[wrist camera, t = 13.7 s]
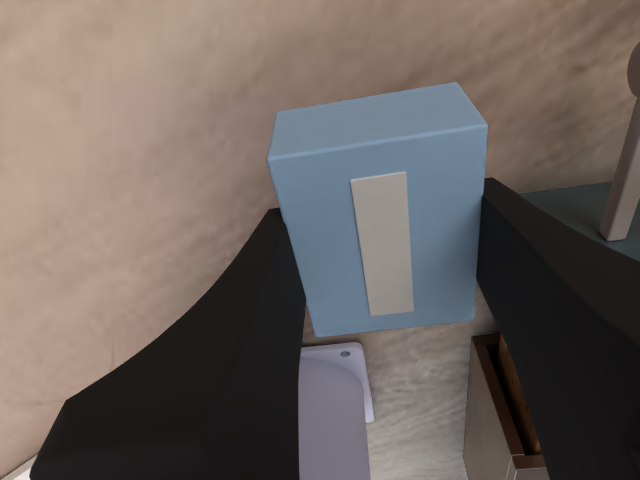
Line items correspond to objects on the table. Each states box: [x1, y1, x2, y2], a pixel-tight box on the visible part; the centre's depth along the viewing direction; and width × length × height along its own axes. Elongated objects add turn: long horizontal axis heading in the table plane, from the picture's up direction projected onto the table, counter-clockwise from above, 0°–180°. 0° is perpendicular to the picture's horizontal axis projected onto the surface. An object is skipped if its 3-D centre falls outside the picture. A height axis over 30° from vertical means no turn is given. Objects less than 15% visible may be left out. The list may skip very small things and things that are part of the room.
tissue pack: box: [267, 82, 488, 337], centre depth 12 cm, size 5×6×3 cm
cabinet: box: [463, 334, 550, 480], centre depth 24 cm, size 14×12×7 cm
